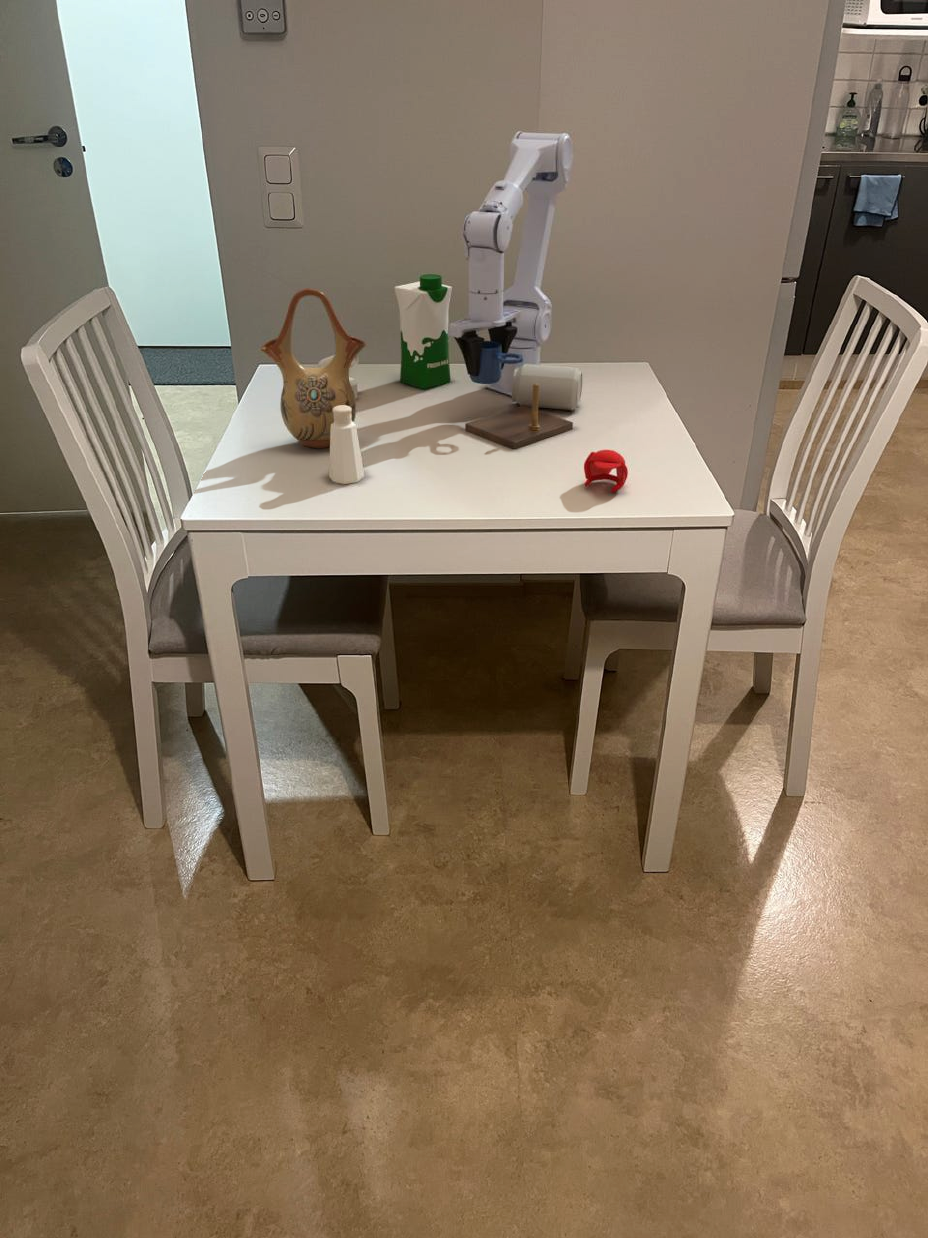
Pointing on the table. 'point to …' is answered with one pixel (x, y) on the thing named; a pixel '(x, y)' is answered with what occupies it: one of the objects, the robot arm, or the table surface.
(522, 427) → the peg stand
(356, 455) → the pepper shaker
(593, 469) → the red hollow rounded piece
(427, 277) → the milk carton
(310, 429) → the ceramic vessel
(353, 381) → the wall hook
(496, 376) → the cup
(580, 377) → the can
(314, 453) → the table surface
